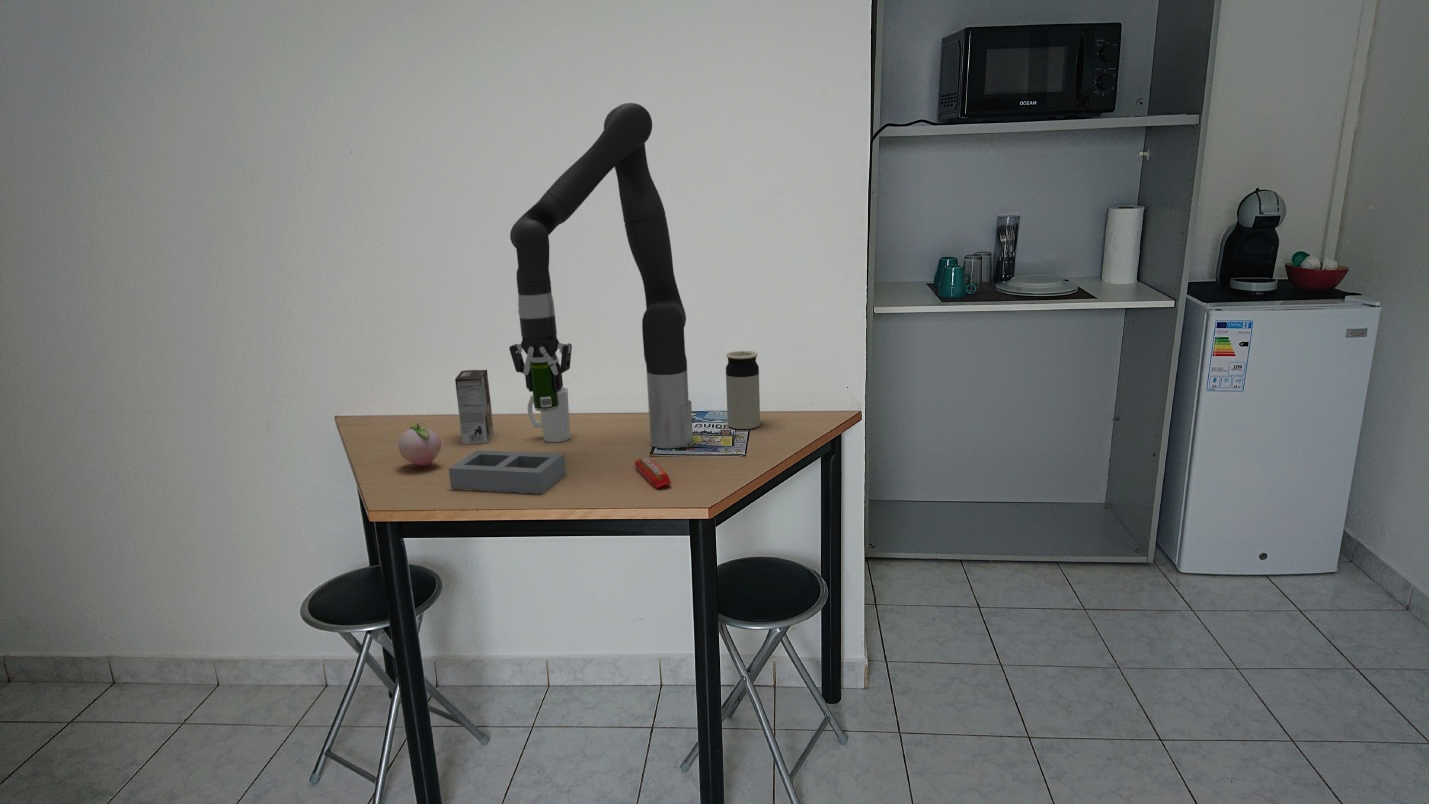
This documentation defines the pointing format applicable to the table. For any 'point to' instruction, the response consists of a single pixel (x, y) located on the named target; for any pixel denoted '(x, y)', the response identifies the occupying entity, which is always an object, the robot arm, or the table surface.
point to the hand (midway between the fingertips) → (544, 390)
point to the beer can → (543, 385)
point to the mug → (553, 419)
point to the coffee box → (474, 406)
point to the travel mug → (742, 390)
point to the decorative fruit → (419, 445)
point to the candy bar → (652, 472)
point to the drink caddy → (508, 471)
